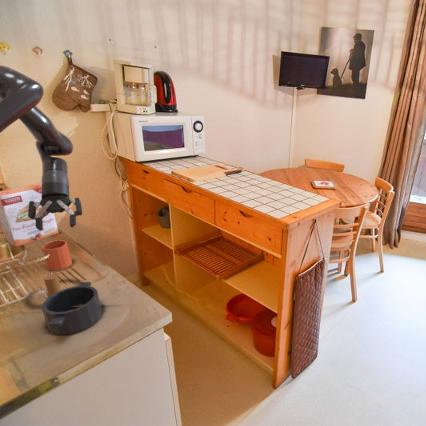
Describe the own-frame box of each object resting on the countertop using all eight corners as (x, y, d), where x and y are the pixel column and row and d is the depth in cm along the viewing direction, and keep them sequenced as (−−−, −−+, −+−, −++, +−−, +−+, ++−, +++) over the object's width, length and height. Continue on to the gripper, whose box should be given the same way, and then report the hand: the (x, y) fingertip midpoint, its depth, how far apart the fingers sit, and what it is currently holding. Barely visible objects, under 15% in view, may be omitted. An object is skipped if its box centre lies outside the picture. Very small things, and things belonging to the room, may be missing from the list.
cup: (44, 273, 103) (37, 249, 100) (55, 263, 109) (48, 240, 105) (67, 272, 104) (60, 249, 101) (76, 262, 110) (70, 239, 107)
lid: (17, 312, 87) (9, 291, 84) (43, 285, 98) (37, 265, 95) (70, 309, 89) (64, 288, 87) (89, 283, 101) (85, 263, 98)
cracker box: (17, 250, 114) (-1, 195, 106) (8, 245, 117) (-11, 192, 109) (60, 235, 126) (47, 185, 118) (52, 231, 128) (38, 182, 120)
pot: (32, 346, 77) (24, 323, 74) (68, 301, 92) (62, 281, 90) (86, 341, 80) (80, 319, 77) (112, 298, 95) (108, 278, 92)
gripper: (25, 182, 106) (24, 227, 101) (77, 179, 112) (79, 221, 107) (33, 192, 112) (33, 234, 107) (82, 188, 119) (84, 229, 114)
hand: (56, 228), depth 107 cm, fingers open, 8 cm apart
